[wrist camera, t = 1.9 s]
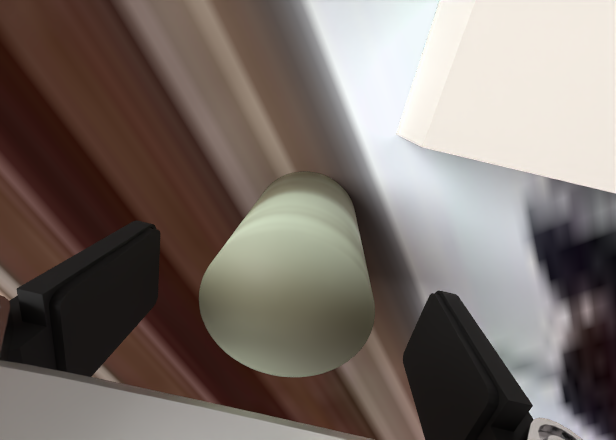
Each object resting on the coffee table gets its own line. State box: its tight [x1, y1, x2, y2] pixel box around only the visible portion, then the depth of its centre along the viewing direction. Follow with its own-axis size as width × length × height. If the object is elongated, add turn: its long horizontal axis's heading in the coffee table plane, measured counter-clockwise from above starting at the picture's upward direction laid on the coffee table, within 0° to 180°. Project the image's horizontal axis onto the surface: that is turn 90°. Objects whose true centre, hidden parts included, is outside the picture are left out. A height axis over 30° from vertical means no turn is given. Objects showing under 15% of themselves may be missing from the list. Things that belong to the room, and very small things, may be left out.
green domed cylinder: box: [199, 171, 375, 377], centre depth 12 cm, size 5×5×7 cm
